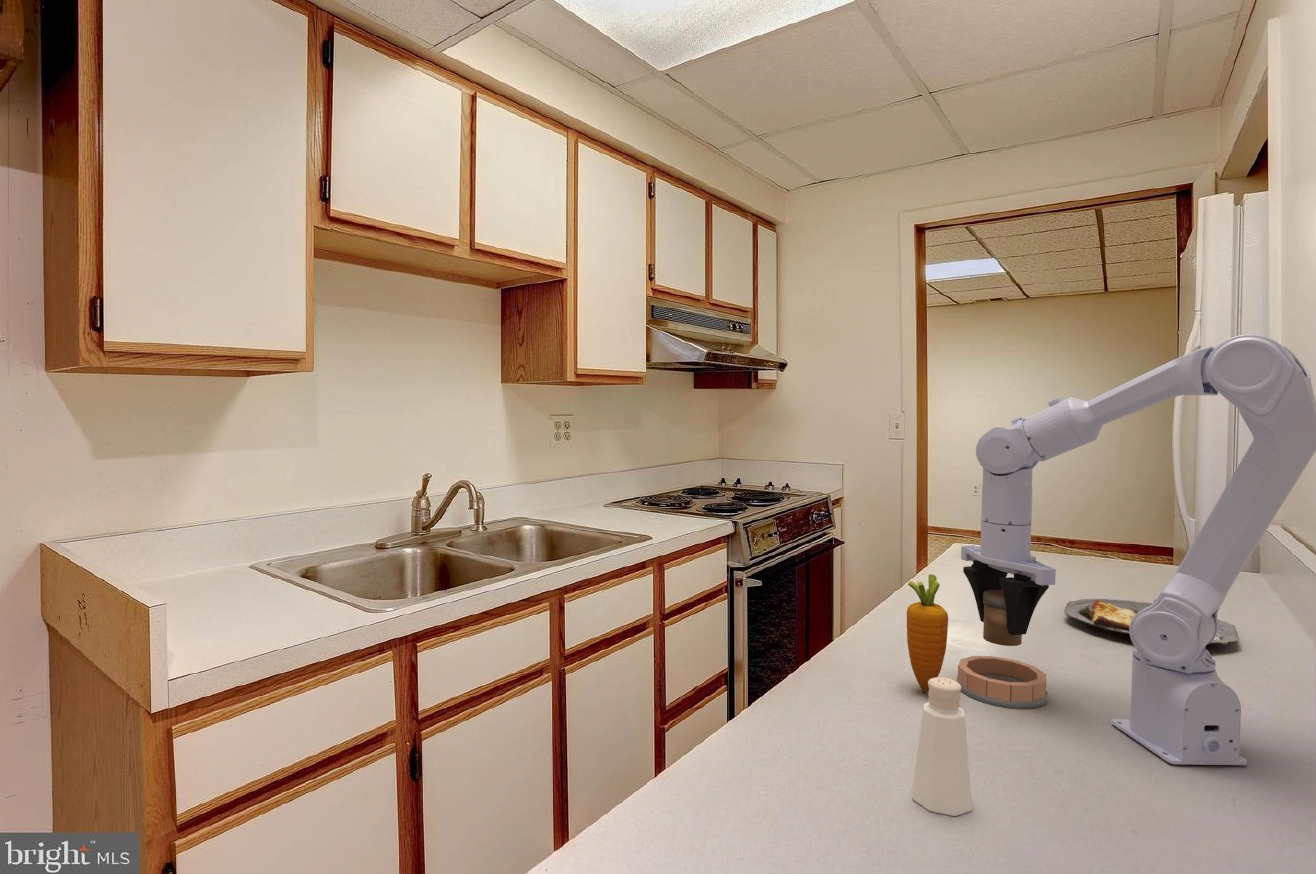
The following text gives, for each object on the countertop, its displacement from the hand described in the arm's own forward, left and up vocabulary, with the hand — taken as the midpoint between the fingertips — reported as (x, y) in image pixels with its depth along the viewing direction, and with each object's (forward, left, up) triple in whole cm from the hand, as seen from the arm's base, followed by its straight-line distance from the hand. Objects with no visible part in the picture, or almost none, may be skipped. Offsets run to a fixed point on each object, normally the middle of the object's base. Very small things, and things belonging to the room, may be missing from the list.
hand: (1002, 627), depth 88 cm
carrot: (-1, +10, -8) cm, 13 cm away
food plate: (+27, -38, -9) cm, 47 cm away
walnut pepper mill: (0, 0, -2) cm, 2 cm away
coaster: (0, 0, -8) cm, 8 cm away
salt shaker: (-25, +18, -8) cm, 32 cm away
